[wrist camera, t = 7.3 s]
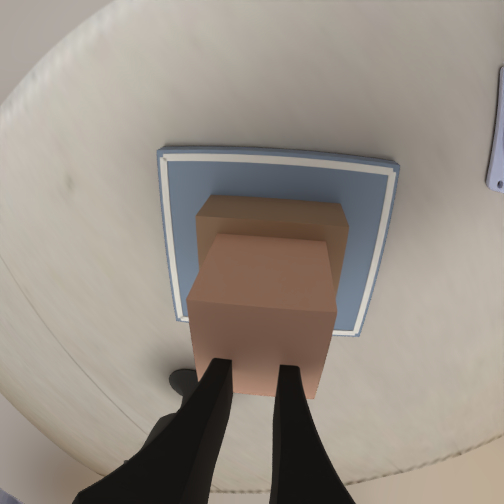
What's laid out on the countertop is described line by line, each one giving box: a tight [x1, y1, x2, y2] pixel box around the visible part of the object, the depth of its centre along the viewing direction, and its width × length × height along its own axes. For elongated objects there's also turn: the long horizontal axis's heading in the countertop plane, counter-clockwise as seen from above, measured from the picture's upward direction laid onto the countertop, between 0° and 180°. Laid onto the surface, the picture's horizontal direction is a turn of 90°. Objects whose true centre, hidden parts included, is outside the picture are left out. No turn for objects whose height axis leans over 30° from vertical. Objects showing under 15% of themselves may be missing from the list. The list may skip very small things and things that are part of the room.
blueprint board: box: [157, 146, 400, 337], centre depth 18 cm, size 13×12×4 cm
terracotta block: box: [186, 233, 338, 399], centre depth 14 cm, size 5×5×5 cm
